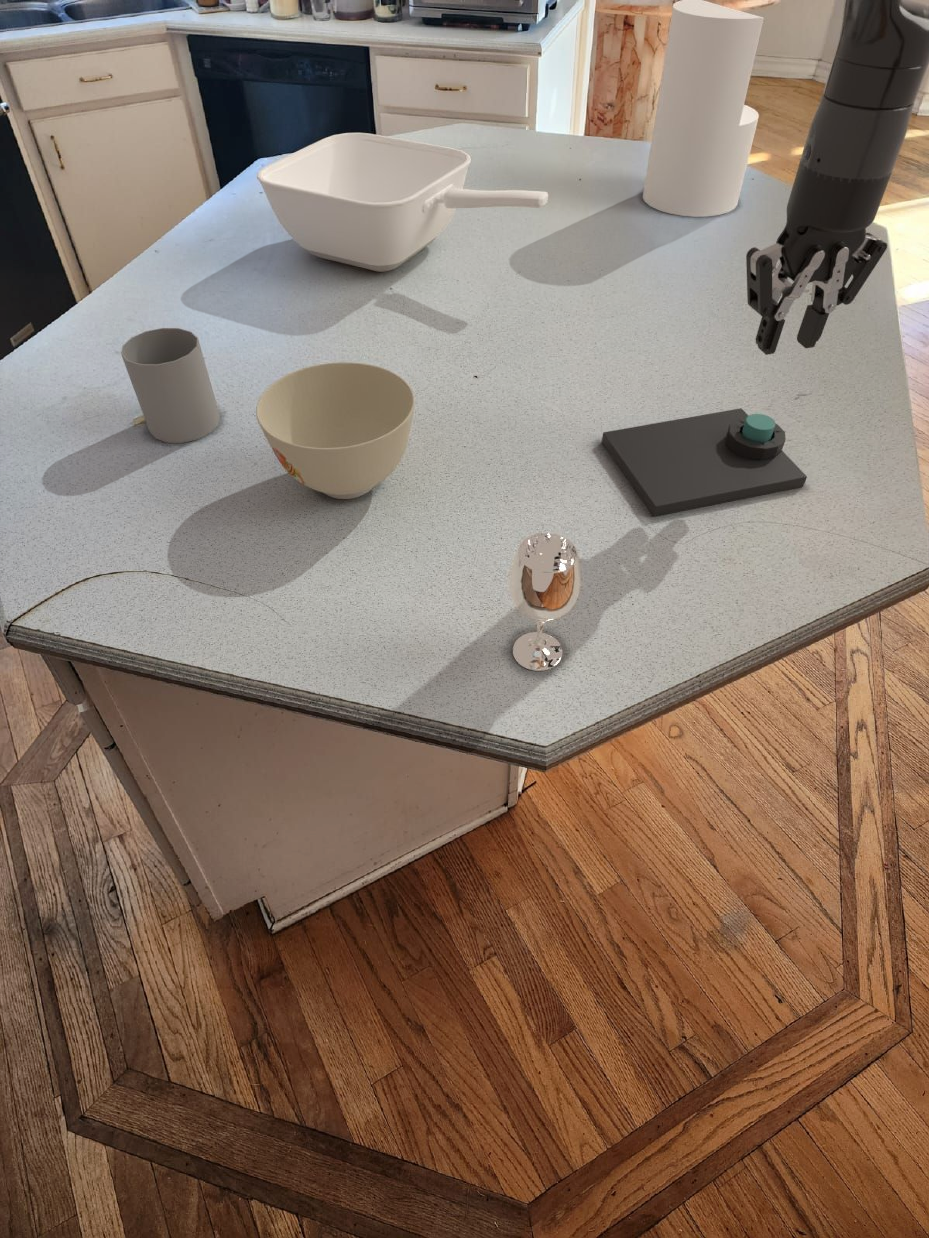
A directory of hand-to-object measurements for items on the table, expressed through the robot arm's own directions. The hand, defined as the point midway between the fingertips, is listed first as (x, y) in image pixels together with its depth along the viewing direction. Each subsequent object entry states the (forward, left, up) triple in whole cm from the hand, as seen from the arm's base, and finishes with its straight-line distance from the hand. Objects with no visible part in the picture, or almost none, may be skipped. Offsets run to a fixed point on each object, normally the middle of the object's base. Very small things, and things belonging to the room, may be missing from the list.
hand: (785, 346), depth 77 cm
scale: (+7, 0, -13) cm, 15 cm away
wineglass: (+34, +21, -13) cm, 42 cm away
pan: (+25, -62, -13) cm, 68 cm away
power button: (0, 0, -11) cm, 11 cm away
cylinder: (-30, -74, -13) cm, 81 cm away
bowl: (+46, -8, -13) cm, 48 cm away
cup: (+63, -25, -13) cm, 69 cm away
